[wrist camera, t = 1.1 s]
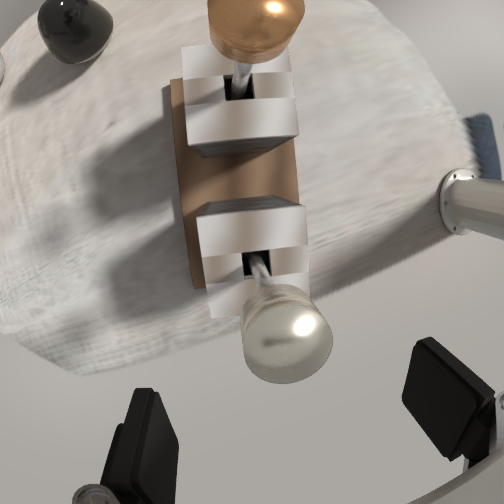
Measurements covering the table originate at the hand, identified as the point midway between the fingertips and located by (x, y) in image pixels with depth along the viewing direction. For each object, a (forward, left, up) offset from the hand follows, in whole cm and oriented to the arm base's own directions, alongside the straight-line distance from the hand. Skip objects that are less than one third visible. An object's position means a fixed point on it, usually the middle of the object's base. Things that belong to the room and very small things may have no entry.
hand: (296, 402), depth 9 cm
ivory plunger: (0, 0, -24) cm, 24 cm away
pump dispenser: (+21, -34, -34) cm, 52 cm away
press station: (0, -8, -34) cm, 35 cm away
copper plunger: (0, -15, -24) cm, 28 cm away
